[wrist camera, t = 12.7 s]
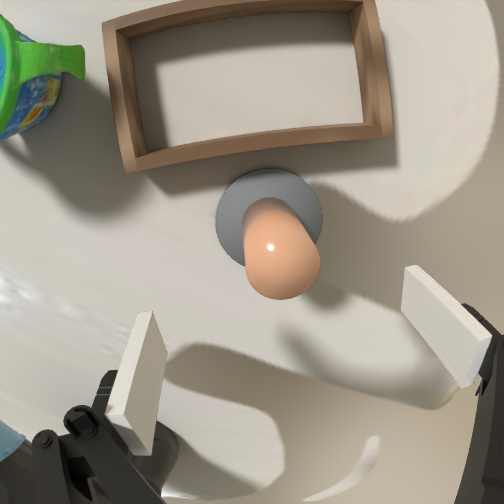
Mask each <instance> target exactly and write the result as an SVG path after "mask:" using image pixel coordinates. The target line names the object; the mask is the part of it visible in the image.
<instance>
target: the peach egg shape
mask: <svg viewBox="0 0 504 504" xmlns="http://www.w3.org/2000/svg"><path fill="white" fill-rule="evenodd" d="M242 233H243V243H244V254H245V264H246V274H247V278H248V280H249V282H250V284H251V286H252V287H253V288H254V289H255V290H256V291H257V292H258V293H260V294H261V295H263V296H265V297H268V298H271V299H277V300H284V299H290V298H294V297H296V296H299V295H301V294H302V293H304V292H305V291H307V290H308V289H309V288H310V287H311V286H312V285H313V284H314V282H315V281H316V279H317V277H318V275H319V272H320V265H321V264H320V263H321V262H320V256H319V253H318V250H317V248H316V247H315V245H314V243H313V242H312V240H311V238H310V237H309V235H308V233H307V232H306V230H305V228H304V227H303V225H302V223H301V222H300V220H299V218H298V217H297V215H296V214H295V212H294V210H293V209H292V207H291V206H290V205H289V204H288V203H286V202H285V201H283V200H281V199H278V198H273V197H267V198H262V199H259V200H257V201H255V202H254V203H252V204H251V205H250V206H249V207H248V208H247V210H246V211H245V213H244V215H243V219H242Z"/></svg>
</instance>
